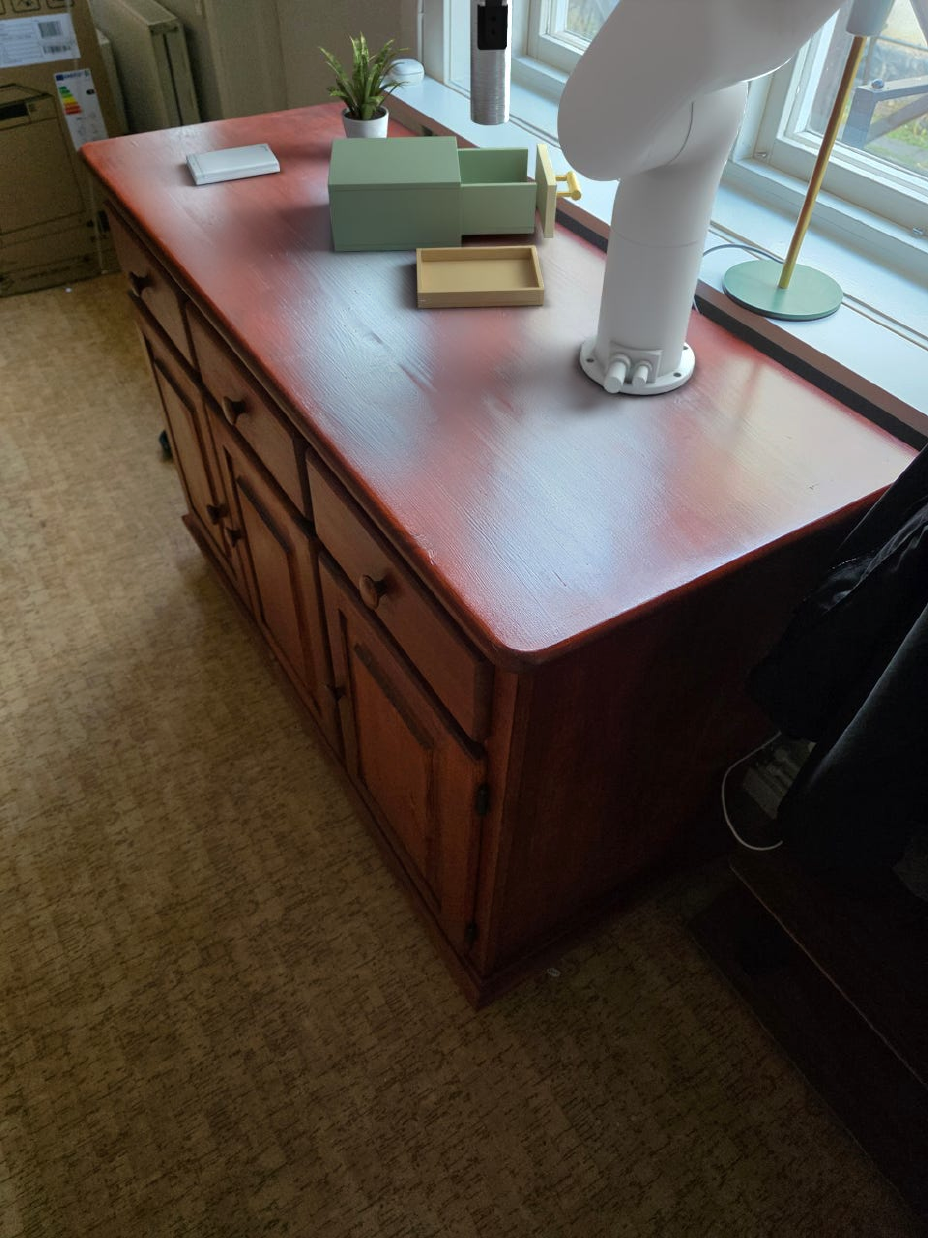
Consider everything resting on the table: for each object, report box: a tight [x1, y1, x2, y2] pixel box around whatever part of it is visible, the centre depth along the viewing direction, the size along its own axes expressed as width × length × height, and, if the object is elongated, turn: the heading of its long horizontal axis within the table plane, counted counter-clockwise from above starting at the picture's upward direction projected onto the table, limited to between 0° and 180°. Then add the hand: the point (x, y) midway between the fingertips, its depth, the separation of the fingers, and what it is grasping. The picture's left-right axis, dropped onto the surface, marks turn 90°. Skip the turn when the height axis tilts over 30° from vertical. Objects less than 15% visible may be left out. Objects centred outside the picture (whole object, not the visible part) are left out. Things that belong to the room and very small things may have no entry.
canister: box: [469, 0, 513, 126], centre depth 97 cm, size 5×5×13 cm
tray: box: [415, 245, 546, 309], centre depth 110 cm, size 15×11×2 cm
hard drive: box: [185, 142, 281, 186], centre depth 133 cm, size 2×8×12 cm
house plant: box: [314, 31, 413, 138], centre depth 130 cm, size 14×14×16 cm
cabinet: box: [327, 135, 462, 253], centre depth 118 cm, size 17×15×9 cm
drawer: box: [457, 142, 583, 239], centre depth 119 cm, size 19×13×7 cm
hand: (490, 39), depth 96 cm, fingers closed on canister, 4 cm apart
